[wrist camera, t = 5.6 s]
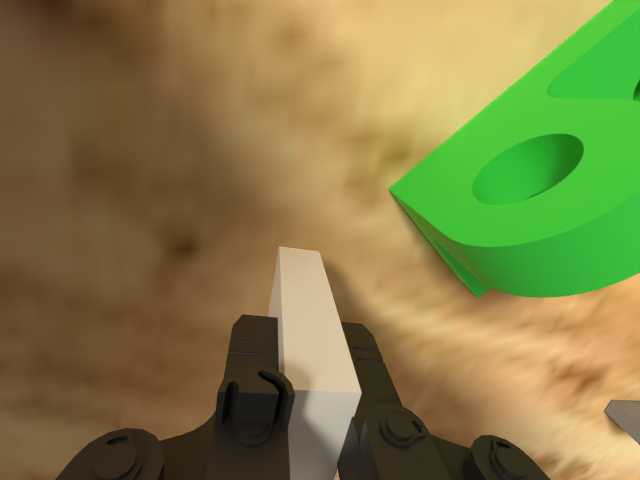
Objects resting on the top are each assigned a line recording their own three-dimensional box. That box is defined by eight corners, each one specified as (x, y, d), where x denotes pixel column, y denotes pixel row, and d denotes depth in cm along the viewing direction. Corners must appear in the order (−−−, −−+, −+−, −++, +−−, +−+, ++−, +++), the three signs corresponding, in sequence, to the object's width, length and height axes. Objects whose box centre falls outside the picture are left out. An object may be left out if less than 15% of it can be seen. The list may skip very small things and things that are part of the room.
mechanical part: (455, 275, 17) (599, 416, 9) (386, 187, 14) (508, 286, 7) (680, 105, 15) (1084, 117, 7) (643, -28, 12) (1179, -201, 5)
